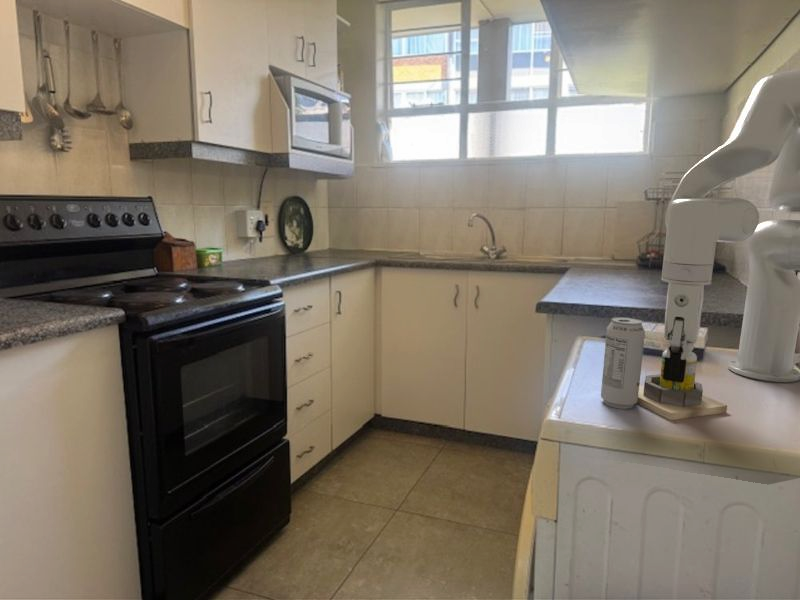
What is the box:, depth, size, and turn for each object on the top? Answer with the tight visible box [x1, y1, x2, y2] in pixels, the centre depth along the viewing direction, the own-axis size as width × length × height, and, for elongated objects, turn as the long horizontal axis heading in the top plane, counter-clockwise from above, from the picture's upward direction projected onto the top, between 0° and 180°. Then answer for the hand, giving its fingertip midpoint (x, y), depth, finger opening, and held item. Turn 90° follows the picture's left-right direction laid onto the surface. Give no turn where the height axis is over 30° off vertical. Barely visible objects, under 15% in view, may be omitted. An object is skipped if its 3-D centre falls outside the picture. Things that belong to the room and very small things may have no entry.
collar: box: [636, 373, 728, 421], centre depth 96 cm, size 12×12×4 cm
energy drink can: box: [600, 316, 646, 410], centre depth 94 cm, size 6×6×15 cm
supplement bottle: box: [659, 338, 698, 391], centre depth 94 cm, size 5×5×10 cm
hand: (675, 374), depth 95 cm, fingers closed on supplement bottle, 5 cm apart
